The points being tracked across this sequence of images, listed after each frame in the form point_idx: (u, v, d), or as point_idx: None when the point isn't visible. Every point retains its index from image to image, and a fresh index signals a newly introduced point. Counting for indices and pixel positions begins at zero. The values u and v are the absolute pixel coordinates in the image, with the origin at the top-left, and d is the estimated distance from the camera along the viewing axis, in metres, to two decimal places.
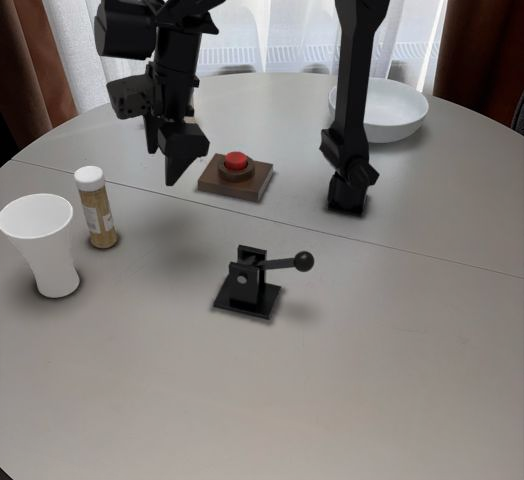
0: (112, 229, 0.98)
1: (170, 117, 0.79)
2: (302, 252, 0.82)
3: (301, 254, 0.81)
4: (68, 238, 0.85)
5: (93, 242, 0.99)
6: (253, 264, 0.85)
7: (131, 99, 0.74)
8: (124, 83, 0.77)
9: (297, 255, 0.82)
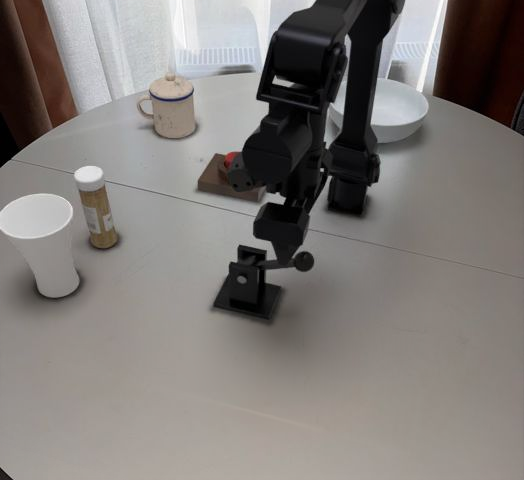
0: (112, 229, 0.98)
1: (285, 196, 0.72)
2: (302, 252, 0.82)
3: (301, 254, 0.81)
4: (68, 238, 0.85)
5: (93, 242, 0.99)
6: (253, 264, 0.85)
7: (235, 174, 0.70)
8: None
9: (297, 255, 0.82)
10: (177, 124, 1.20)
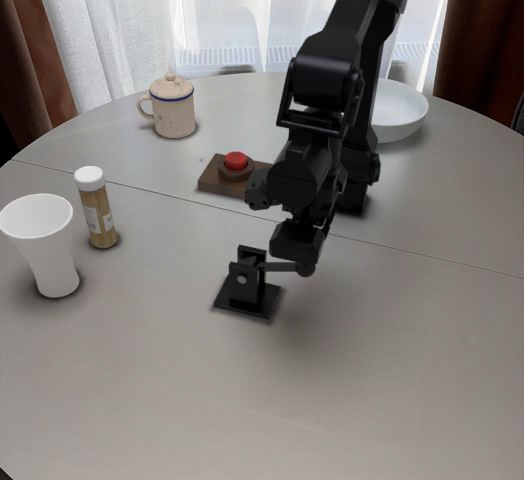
0: (112, 229, 0.98)
1: (301, 214, 0.73)
2: None
3: None
4: (68, 238, 0.85)
5: (93, 242, 0.99)
6: (254, 265, 0.85)
7: (252, 193, 0.71)
8: (266, 173, 0.74)
9: None
10: (177, 124, 1.20)
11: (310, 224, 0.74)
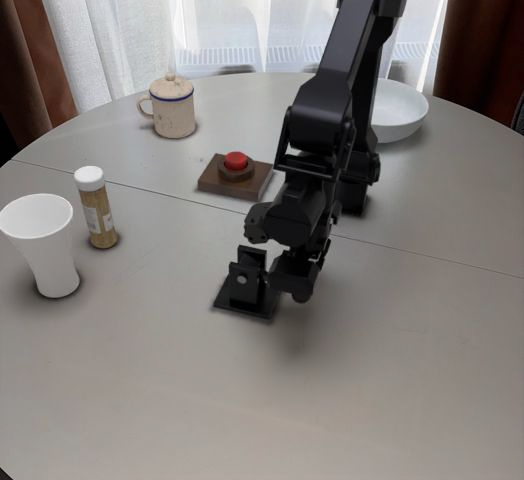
0: (112, 229, 0.98)
1: (297, 248, 0.77)
2: None
3: None
4: (68, 238, 0.85)
5: (93, 242, 0.99)
6: None
7: (250, 229, 0.75)
8: (265, 208, 0.79)
9: None
10: (177, 124, 1.20)
11: (306, 257, 0.78)
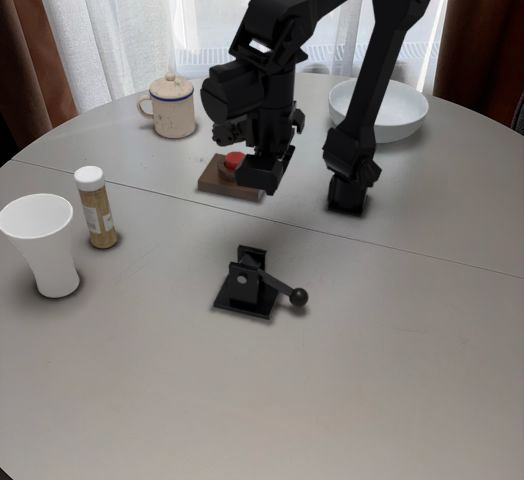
0: (112, 229, 0.98)
1: (262, 149, 0.83)
2: (304, 291, 0.87)
3: (304, 294, 0.87)
4: (68, 238, 0.85)
5: (93, 242, 0.99)
6: None
7: (218, 130, 0.81)
8: None
9: (300, 291, 0.87)
10: (177, 124, 1.20)
11: (271, 158, 0.84)
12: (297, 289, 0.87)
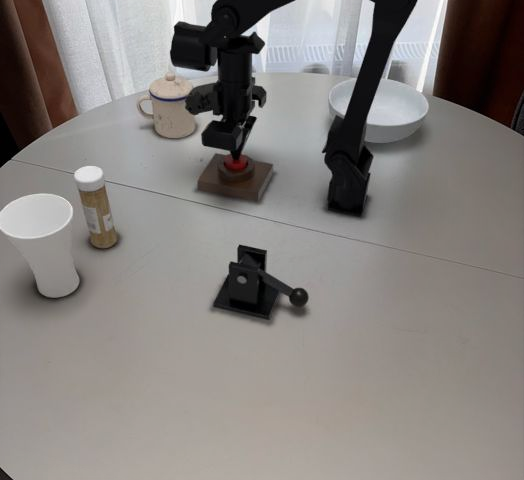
0: (112, 229, 0.98)
1: (226, 117, 1.00)
2: (304, 291, 0.87)
3: (304, 294, 0.87)
4: (68, 238, 0.85)
5: (93, 242, 0.99)
6: None
7: (189, 100, 0.98)
8: (202, 88, 1.01)
9: (300, 291, 0.87)
10: (177, 124, 1.20)
11: None
12: (297, 289, 0.87)
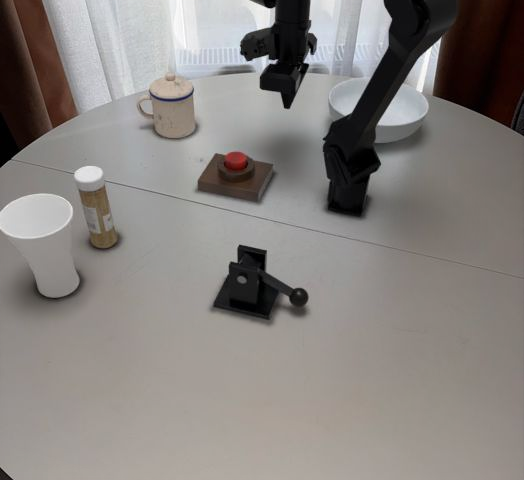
0: (112, 229, 0.98)
1: (282, 61, 0.99)
2: (304, 291, 0.87)
3: (304, 294, 0.87)
4: (68, 238, 0.85)
5: (93, 242, 0.99)
6: None
7: (246, 43, 0.96)
8: (256, 33, 1.00)
9: (300, 291, 0.87)
10: (177, 124, 1.20)
11: None
12: (297, 289, 0.87)
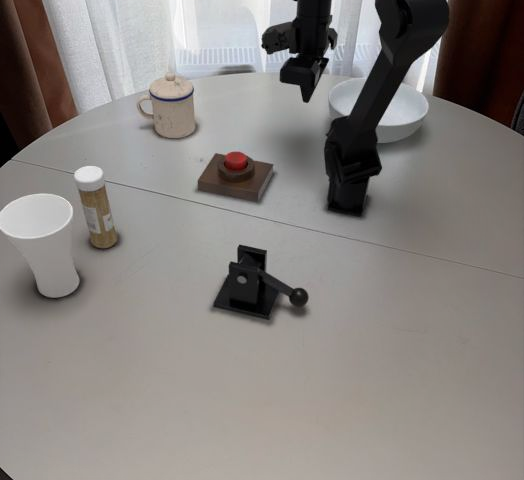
0: (112, 229, 0.98)
1: (303, 55, 1.00)
2: (304, 291, 0.87)
3: (304, 294, 0.87)
4: (68, 238, 0.85)
5: (93, 242, 0.99)
6: None
7: (267, 37, 0.98)
8: (277, 27, 1.01)
9: (300, 291, 0.87)
10: (177, 124, 1.20)
11: None
12: (297, 289, 0.87)
